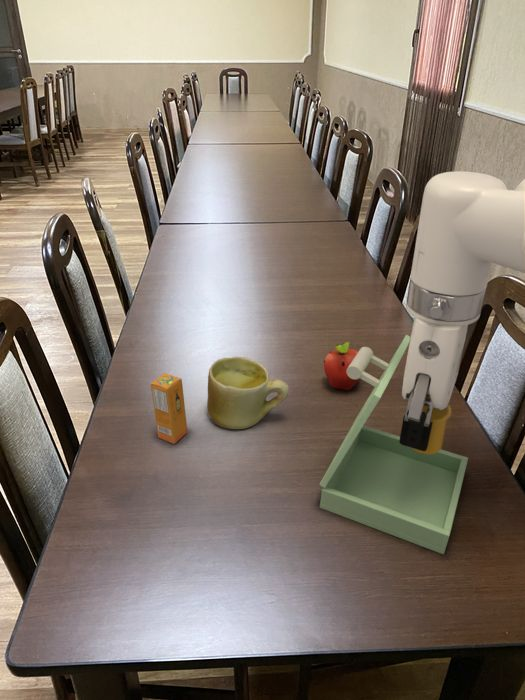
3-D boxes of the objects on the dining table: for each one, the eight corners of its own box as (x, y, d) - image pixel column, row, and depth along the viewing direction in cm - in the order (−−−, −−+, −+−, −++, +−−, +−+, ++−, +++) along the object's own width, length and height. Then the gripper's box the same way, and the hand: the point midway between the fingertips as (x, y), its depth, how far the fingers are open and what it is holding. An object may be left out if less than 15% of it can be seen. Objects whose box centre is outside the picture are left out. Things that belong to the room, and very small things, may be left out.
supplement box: (170, 425, 82) (165, 370, 77) (188, 433, 81) (184, 378, 75) (155, 437, 80) (149, 382, 74) (173, 445, 78) (169, 389, 73)
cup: (452, 446, 65) (460, 410, 62) (426, 461, 63) (433, 424, 60) (423, 426, 68) (429, 392, 66) (397, 440, 66) (402, 404, 63)
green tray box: (463, 475, 74) (468, 457, 73) (443, 554, 63) (449, 536, 61) (354, 440, 80) (357, 423, 78) (319, 507, 69) (321, 489, 67)
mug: (184, 417, 81) (203, 358, 78) (214, 399, 90) (232, 345, 87) (255, 454, 78) (278, 394, 75) (278, 431, 87) (299, 377, 84)
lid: (412, 337, 68) (378, 319, 69) (380, 398, 57) (340, 375, 58) (360, 422, 78) (331, 405, 79) (324, 488, 67) (291, 467, 68)
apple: (317, 375, 95) (321, 326, 89) (354, 373, 96) (361, 323, 90) (328, 401, 88) (334, 349, 83) (368, 398, 89) (376, 347, 84)
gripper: (470, 341, 48) (435, 489, 57) (492, 275, 61) (460, 404, 70) (387, 323, 51) (367, 467, 60) (425, 264, 64) (403, 389, 73)
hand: (418, 432), depth 65 cm, fingers closed on cup, 4 cm apart
